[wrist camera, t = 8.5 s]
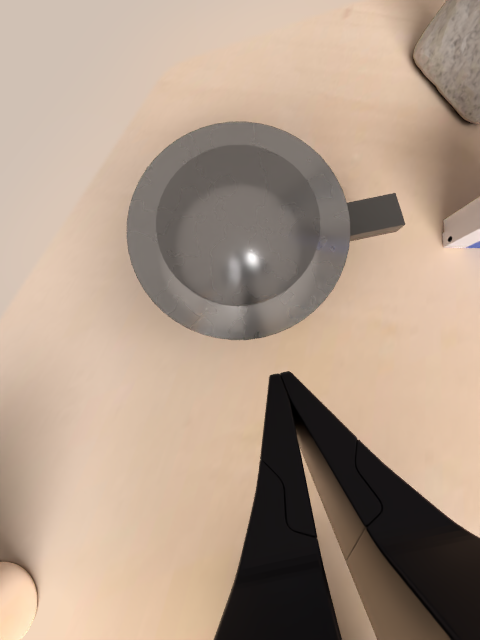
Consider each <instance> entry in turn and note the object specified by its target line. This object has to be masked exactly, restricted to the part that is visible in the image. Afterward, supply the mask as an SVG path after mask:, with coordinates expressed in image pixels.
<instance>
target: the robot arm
mask: <svg viewBox="0 0 480 640" xmlns="http://www.w3.org/2000/svg"><path fill="white" fill-rule="evenodd" d="M299 446H300V448H299ZM300 449H301V451H302V454H303V456H304V458H305V461H306V463H307V466H308V468H309V471H310V473H311V476H312V478H313V481H314V483H315V486H316V488H317V491H318V493H319V496H320V498H321V501H322V503H323V506H324V508H325V511H326V513H327V516H328V518H329V521H330V523H331V526H332V528H333V530H334V533H335V535H336V538H337V540H338V543H339V545H340V548H341V550H342V553H343V555H344V558H345V560H346V563H347V565H348V568H349V570H350V573H351V575H352V578H353V580H354V583H355V585H356V588H357V590H358V593H359V595H360V598H361V600H362V603H363V605H364V607H365V610H366V612H367V615H368V617H369V620H370V622H371V625H372V627H373V630H374V632H375V635H376V637H377V640H480V538H479V537H477V536H475V535H474V534H472V533H470V532H469V531H467V530H466V529H464V528H463V527H461V526H460V525H458V524H457V523H455V522H454V521H453V520H451V519H450V518H449V517H447V516H446V515H445V514H444V513H442V512H441V511H440V510H439V509H437V508H436V507H435V506H434V505H433V504H431V503H430V502H429V501H428V500H427V499H425V498H424V497H423V496H422V495H421V494H419V493H418V492H417V491H416V490H415V489H413V488H412V487H411V486H410V485H409V484H407V483H406V482H405V481H404V480H403V479H401V478H400V477H399V476H398V475H397V474H395V473H394V472H393V471H392V470H391V469H390V468H388V467H387V466H386V465H385V464H384V463H383V462H382V461H381V460H379V459H378V458H377V457H376V456H375V455H374V454H373V453H372V452H371V451H370V450H369V449H368V448H367V447H366V446H365V445H364V444H363V443H362V442H361V441H360V440H357V437H356V436H355V435H354V434H353V433H352V432H351V431H350V430H349V429H348V428H347V427H346V426H345V425H344V424H343V423H342V422H341V421H340V420H339V419H338V418H337V417H336V416H335V415H334V414H333V413H332V412H331V411H330V410H329V409H328V408H327V407H326V406H324V405H323V404H322V403H321V402H320V401H319V400H318V399H317V398H316V397H315V396H314V395H313V394H312V393H311V392H310V391H309V390H308V389H307V388H306V387H305V386H304V385H303V384H302V383H301V382H300V381H299V380H298V379H297V378H296V377H295V376H294V375H293V374H292V373H291V372H289V371H288V372H283V373H280V374H273V375H270V377H269V385H268V394H267V403H266V412H265V421H264V430H263V439H262V447H261V456H260V459H261V460H260V464H259V473H258V480H257V487H256V492H255V497H254V502H253V507H252V511H251V516H250V520H249V524H248V528H247V533H246V537H245V541H244V546H243V550H242V554H241V558H240V562H239V566H238V570H237V573H236V577H235V580H234V583H233V586H232V589H231V592H230V595H229V598H228V601H227V604H226V607H225V609H224V612H223V615H222V618H221V621H220V624H219V626H218V629H217V632H216V635H215V638H214V640H342V638H341V634H340V630H339V626H338V623H337V619H336V615H335V611H334V607H333V603H332V599H331V595H330V591H329V587H328V583H327V579H326V575H325V571H324V567H323V562H322V558H321V553H320V548H319V543H318V539H317V533H316V528H315V523H314V518H313V513H312V508H311V503H310V498H309V493H308V488H307V483H306V478H305V473H304V468H303V463H302V458H301V453H300Z"/></svg>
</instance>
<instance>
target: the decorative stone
mask: <svg viewBox="0 0 480 640" xmlns="http://www.w3.org/2000/svg"><path fill="white" fill-rule="evenodd" d="M413 58H414V60H415V63H416V65H417V66H418V67H419V68H420V70H421V71H422V72H423V74H424V75H425V76H426V77H427V78H428V79H429V80H430V81H431V82H432V83H433V84H434V85H435V86H436V87H437V89H438V91H439V92H440V93H441V94H442V96H443V97H444V98H445V99H446V100H447V101H448V102H449V103H450V104H451V105H452V106H453V107H454V108H455V110H456V111H457V112H458V113H459V115H460V116H461V117H462V118H463V119H464V120H466V121H469V122H471V123H476V124H478V123H480V0H447V1H446V2H445V3H444V5H443V6H442V7H441V9H440V10H439V11H438V13H437V14H436V15H435V17H434V18H433V20H432V21H431V22H430V24H429V25H428V27H427V28H426V29H425V31H424V32H423V34H422V36H421V38H420V39H419V41H418V42H417V44H416V46H415V49H414V53H413Z"/></svg>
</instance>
